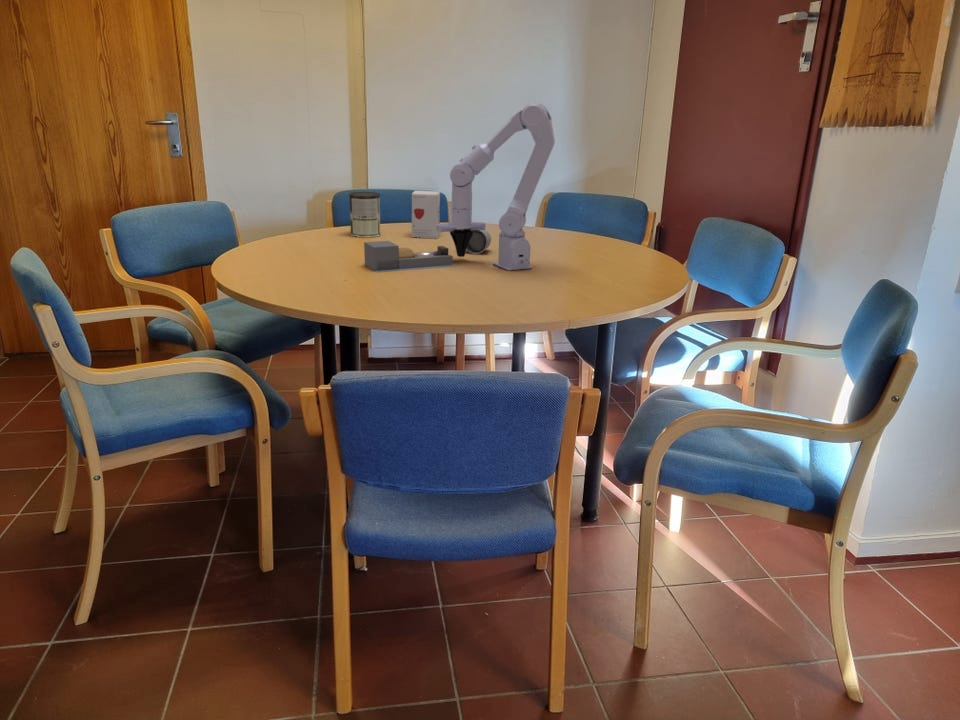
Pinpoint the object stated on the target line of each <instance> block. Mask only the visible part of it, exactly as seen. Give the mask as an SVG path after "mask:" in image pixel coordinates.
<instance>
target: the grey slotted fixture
mask: <svg viewBox="0 0 960 720" xmlns="http://www.w3.org/2000/svg"><path fill="white" fill-rule="evenodd" d="M363 244H364V245H363V246H364V248H363V249H364V263H362V265H363V266H365V267H367V268H369V269H370V270H371V271H374V272H375V273H377V274H378V273H388V272H390V273H391V272H403V271H417V270H428V269H441V268H451V267H452V268H453V267H455V268H456V267H459V264H458V265H457V264H455V263H454V262H453V258H454V257H453V255H452V254H448V255H443V256H429V257H415V258H401V259H399V248H400V246H399V245H398V244H395V243H394V242H392V241H390V240H382V241H381V240H379V241H377V240H376V241H364V242H363ZM417 252H418V251H417ZM417 252H415V253H417ZM430 252H432V250H431V251H430Z"/></svg>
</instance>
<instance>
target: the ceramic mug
mask: <svg viewBox="0 0 960 720" xmlns="http://www.w3.org/2000/svg"><path fill="white" fill-rule="evenodd" d="M471 232H473V235H472V237H471V239H470V241H469V243H468V245H467V248H466V252H468V253H470V254H472V255H479V254H481V253H483V252H485V250H487V249H488V248H489V247H490V245H491V242H492V236H491V233H490V232H489V231H488V230H487V229H485V230H471Z"/></svg>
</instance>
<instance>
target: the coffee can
mask: <svg viewBox="0 0 960 720" xmlns="http://www.w3.org/2000/svg"><path fill="white" fill-rule="evenodd" d="M380 196H381V194H380V192H375V191H356V192H349V193H348V197H349V216H350V220H349V221H350V223H349V224H350V236H351V235H352V236H351V237H353V236H357V237H356V238H359V237H372V238H377V236H378V237H381V212H380V211H381V208H380V206H381V203H380V201H381V200H380V199H381V198H380Z"/></svg>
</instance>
